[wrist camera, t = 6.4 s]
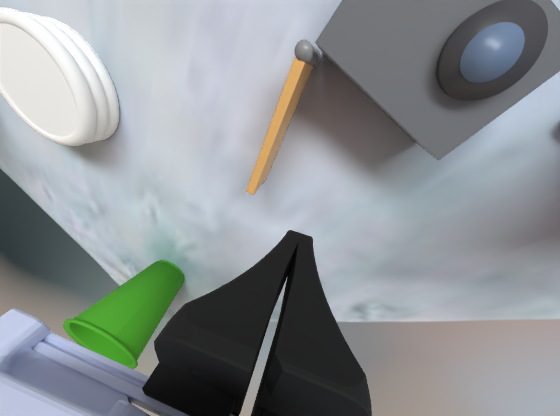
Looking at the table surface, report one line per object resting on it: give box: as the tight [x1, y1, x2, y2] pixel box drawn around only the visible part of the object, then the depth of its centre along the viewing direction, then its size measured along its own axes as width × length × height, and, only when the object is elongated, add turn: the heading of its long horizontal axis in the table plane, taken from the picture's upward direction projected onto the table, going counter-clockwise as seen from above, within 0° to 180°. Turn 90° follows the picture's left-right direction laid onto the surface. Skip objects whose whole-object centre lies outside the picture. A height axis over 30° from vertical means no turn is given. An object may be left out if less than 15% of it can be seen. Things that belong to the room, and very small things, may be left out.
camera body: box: [313, 0, 560, 160], centre depth 11 cm, size 10×7×5 cm
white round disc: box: [0, 8, 119, 146], centre depth 19 cm, size 10×10×4 cm
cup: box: [63, 260, 184, 369], centre depth 27 cm, size 9×9×11 cm
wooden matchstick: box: [246, 40, 319, 195], centre depth 14 cm, size 10×1×3 cm, turn 157°
